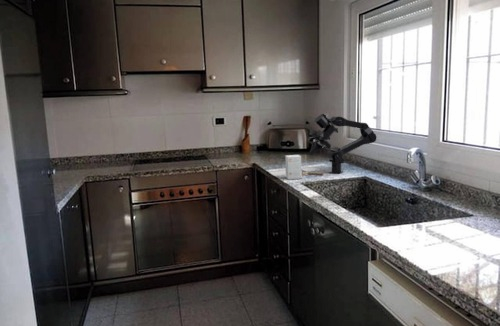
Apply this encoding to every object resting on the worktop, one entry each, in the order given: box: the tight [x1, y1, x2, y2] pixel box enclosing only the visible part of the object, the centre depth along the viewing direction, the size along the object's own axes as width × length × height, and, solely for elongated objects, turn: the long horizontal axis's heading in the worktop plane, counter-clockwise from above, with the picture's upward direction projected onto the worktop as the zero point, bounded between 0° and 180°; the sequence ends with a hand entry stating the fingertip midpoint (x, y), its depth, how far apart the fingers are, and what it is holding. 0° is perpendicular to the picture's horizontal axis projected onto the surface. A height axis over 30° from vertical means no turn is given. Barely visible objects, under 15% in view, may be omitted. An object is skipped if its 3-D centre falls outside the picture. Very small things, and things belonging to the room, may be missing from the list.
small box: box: [284, 154, 303, 180], centre depth 215 cm, size 8×6×13 cm
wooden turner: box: [302, 171, 324, 176], centre depth 223 cm, size 6×16×1 cm, turn 58°
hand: (309, 153), depth 217 cm, fingers closed
